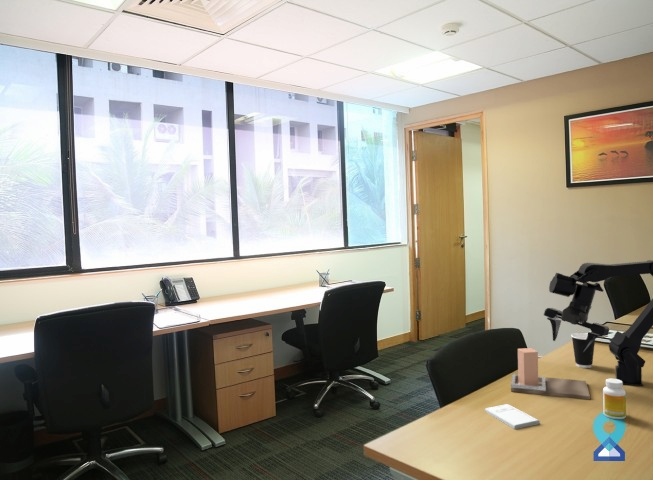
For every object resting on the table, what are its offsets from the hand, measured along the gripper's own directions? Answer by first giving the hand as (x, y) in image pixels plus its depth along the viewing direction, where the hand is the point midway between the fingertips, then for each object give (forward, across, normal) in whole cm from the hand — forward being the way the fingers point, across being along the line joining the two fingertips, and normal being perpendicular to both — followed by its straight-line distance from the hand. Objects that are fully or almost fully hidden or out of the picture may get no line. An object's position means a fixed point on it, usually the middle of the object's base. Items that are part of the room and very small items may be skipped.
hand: (568, 346), depth 159 cm
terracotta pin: (+14, -5, -11) cm, 19 cm away
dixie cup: (+8, +1, +21) cm, 23 cm away
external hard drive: (+19, +2, -36) cm, 40 cm away
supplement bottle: (+11, +21, -18) cm, 30 cm away
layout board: (+14, 0, -7) cm, 15 cm away
